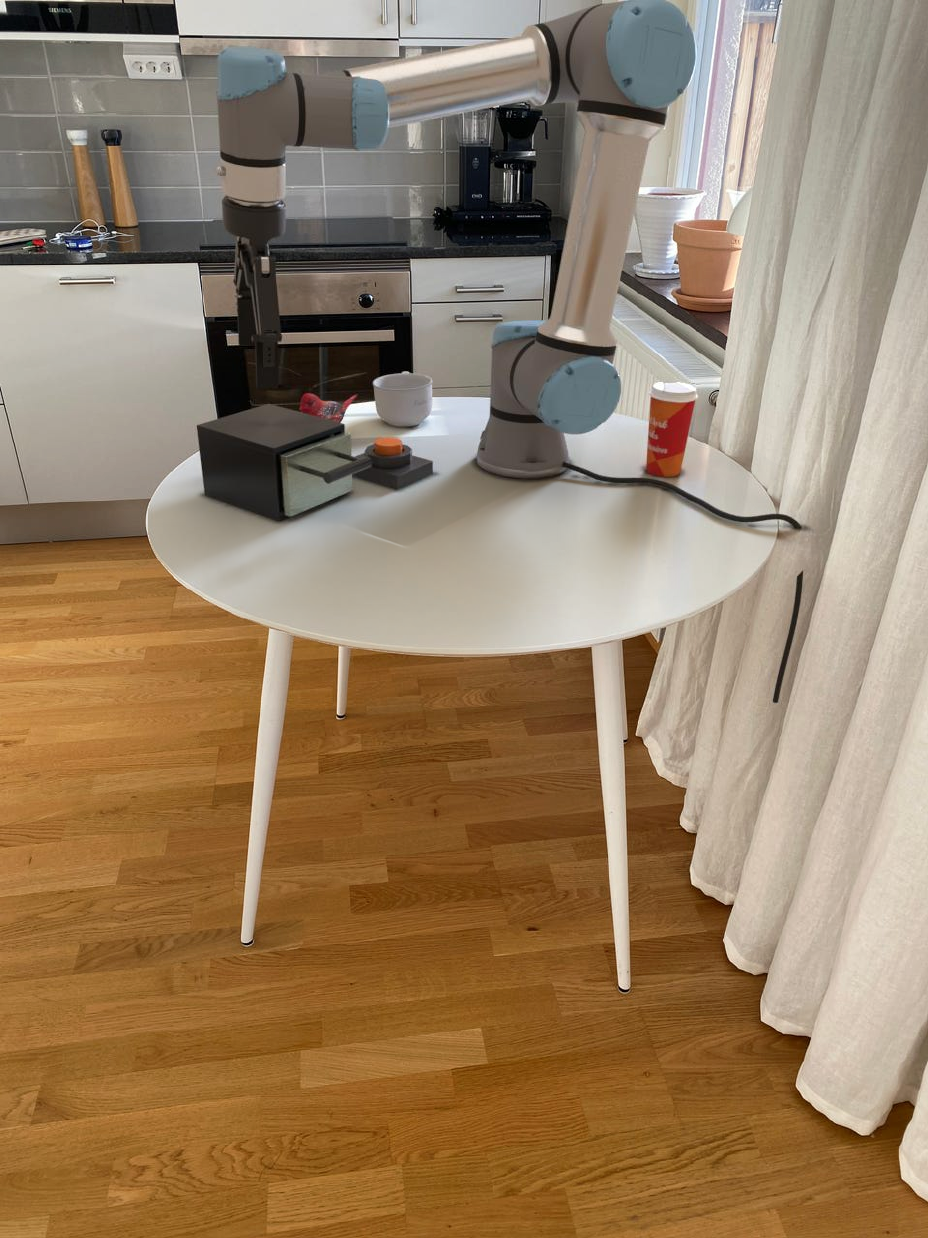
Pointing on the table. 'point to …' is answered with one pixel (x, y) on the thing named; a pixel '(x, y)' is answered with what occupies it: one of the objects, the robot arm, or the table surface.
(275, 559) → the table surface
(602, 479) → the robot arm
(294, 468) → the drawer
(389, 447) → the button
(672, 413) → the paper cup
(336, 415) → the decorative bird figurine
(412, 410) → the teacup
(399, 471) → the block
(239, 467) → the cabinet
